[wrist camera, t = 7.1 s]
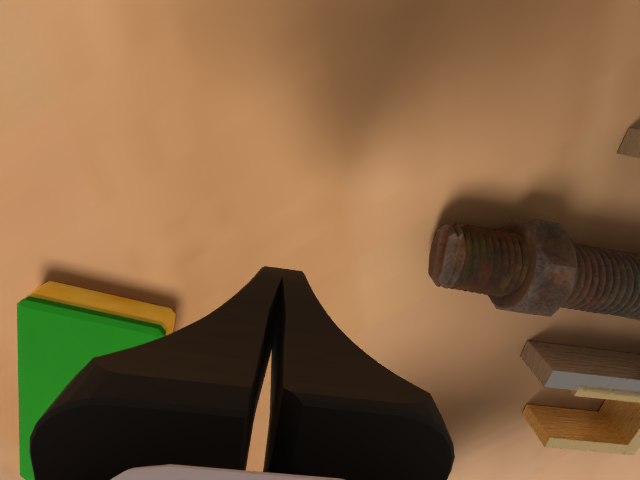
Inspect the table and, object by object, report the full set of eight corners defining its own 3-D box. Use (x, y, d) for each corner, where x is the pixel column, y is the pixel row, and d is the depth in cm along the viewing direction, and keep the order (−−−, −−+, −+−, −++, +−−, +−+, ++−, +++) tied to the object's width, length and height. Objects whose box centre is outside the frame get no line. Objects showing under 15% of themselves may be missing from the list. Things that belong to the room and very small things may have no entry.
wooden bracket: (603, 420, 25) (633, 455, 23) (522, 413, 24) (544, 446, 22) (639, 364, 23) (676, 395, 21) (552, 354, 22) (580, 385, 20)
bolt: (421, 213, 21) (663, 257, 22) (410, 302, 20) (660, 342, 21) (473, 187, 15) (799, 247, 16) (459, 310, 14) (800, 365, 15)
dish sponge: (44, 445, 25) (18, 481, 23) (48, 275, 20) (15, 299, 18) (150, 463, 26) (135, 498, 24) (179, 305, 21) (164, 331, 19)
